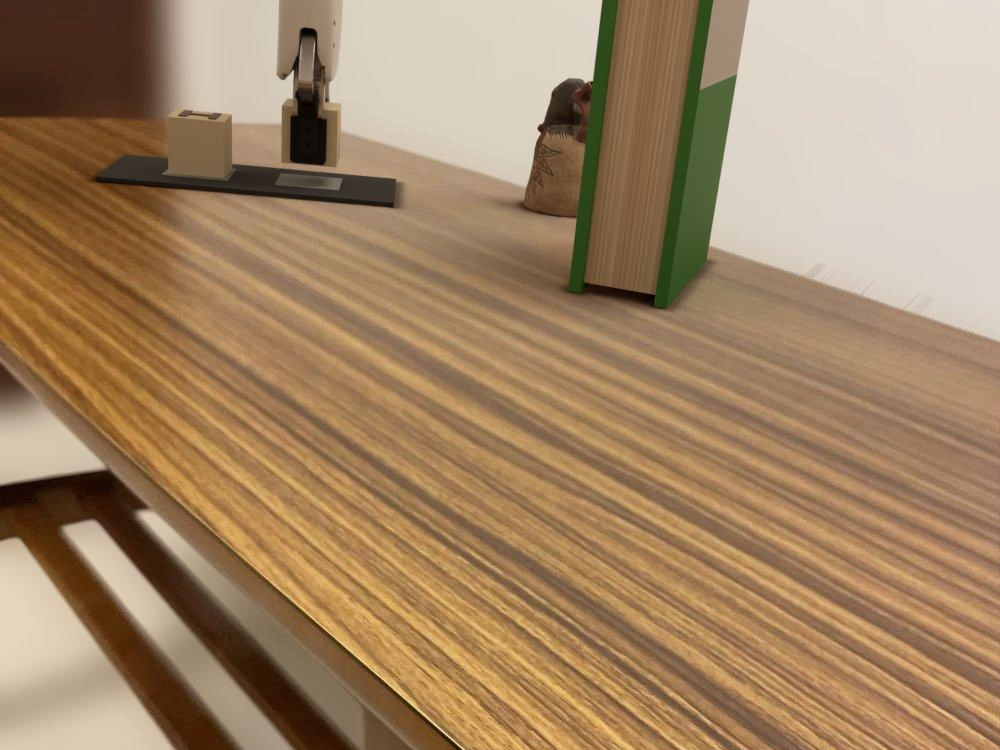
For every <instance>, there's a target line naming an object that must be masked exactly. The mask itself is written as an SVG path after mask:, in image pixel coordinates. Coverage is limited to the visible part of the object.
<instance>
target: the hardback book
mask: <svg viewBox="0 0 1000 750" xmlns="http://www.w3.org/2000/svg"><path fill="white" fill-rule="evenodd" d="M749 4H750V0H601V8H600V15H599V17H600V18H599V25H598V33H597V34H598V35H597V41H596V42H597V43H596V51H595V60H594V68H593V76H592V81H593V84H592V93H591V101H590V110H589V118H588V127H587V135H586V144H585V152H584V161H583V169H582V178H581V187H580V195H579V204H578V212H577V217H576V221H575V229H574V239H573V247H572V255H571V265H570V272H569V283H568V288H567V290H568V291H569V292H572V293H573V292H574V293H578V294H580V293H582V292H583V291H584V290H586V289H587V288H588V287H589V286H590V285H596V286H597V285H598V286H603V287H608V288H609V287H610V288H615V289H619V290H626V291H631V292H637V293H643V294H648V295H654V301H653V307H657V308H664V309H667V308H668V307H669V306H670V305H671V304H672V302H673V301H674V300H675V299H676V297H677V296H678V295H679V294H680V293H681V292H682V291H683V289H684V288H685V287H686V286H687V285H688V284H689V282H691V280H692V279H693V278H694V277H695V275H696V274H697V273H698V272H699V270H700V269H701V268H702V267H703V266H704V265H705V264H706V262H707V261H708V253H709V248H710V247H709V246H710V241H711V235H712V230H713V224H714V217H715V212H716V206H717V199H718V194H719V187H720V183H721V175H722V171H723V163H724V158H725V157H724V156H725V152H726V151H725V150H726V145H727V139H728V133H729V126H730V120H731V115H732V114H731V113H732V108H733V102H734V95H735V91H736V90H735V88H736V84H737V80H738V79H737V78H738V71H739V66H740V60H741V54H742V48H743V42H744V36H745V31H746V23H747V19H748V18H747V17H748V12H749V11H748V10H749Z"/></svg>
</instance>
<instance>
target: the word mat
mask: <svg viewBox="0 0 1000 750" xmlns="http://www.w3.org/2000/svg"><path fill="white" fill-rule="evenodd" d="M95 181H96V182H103V183H116V184H117V183H118V184H127V185H139V186H150V187H161V188H172V189H183V190H184V189H185V190H196V191H206V192H219V193H229V194H239V195H240V194H242V195H252V196H253V195H254V196H263V197H264V196H265V197H274V198H285V199H287V198H288V199H298V200H308V201H318V202H319V201H321V202H329V203H341V204H342V203H343V204H355V205H364V206H377V207H386V208H387V207H390V208H394V205H395V197H396V188H397V178H393V177H381V176H371V175H370V176H368V175H360V174H359V175H358V174H350V173H349V174H348V173H336V172H327V171H316V170H304V169H292V168H282V167H272V166H260V165H248V164H237V163H236V164H235V163H232V170H231V171H230V172H229V174H228V175H227V176H226V177H225V178H224V179H223V178H211V177H200V176H189V175H178V174H169V172H168V157H162V156H161V157H160V156H151V155H150V156H149V155H139V154H126V153H125V154H124V155H122V156H121V157H120V158H118V159H117V160H115V161H114V162H113V163H111V164H110V165H109V166H108V167H106V168H105V169H104V170H102V171H101V172H100V173H98V174H97V175H96V176H95Z"/></svg>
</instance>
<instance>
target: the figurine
mask: <svg viewBox="0 0 1000 750" xmlns="http://www.w3.org/2000/svg"><path fill="white" fill-rule="evenodd" d="M592 84H593V80H588V81H587V82H585V80H584V79H582V78H579V77H578V78H576V77H575V78H573V77H568V78H566V79H565V80H563V81H562V82H560V83H559V84H558V85H557V86H555V87H554V88H553V89H552V90H551V95H550V100H549V103H548V105H547V109H546V112H545V116H544V119H543V122H542V123H539V124H538V126H537V131H538V133H540V134H539V136H538V138H537V139H536V142H535V145H534V150H533V158H532V159H533V160H532V163H531V169H530V174H529V178H528V181H527V184H526V187H525V192H524V198H523V202H524V207H526V208H527V209H529V210H532V211H534V212H538V213H543V214H548V215H553V216H559V217H570V218H571V217H574V218H577V212H578V204H579V195H580V187H581V178H582V169H583V161H584V152H585V144H586V135H587V127H588V118H589V110H590V101H591V93H592Z"/></svg>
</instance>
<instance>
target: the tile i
mask: <svg viewBox="0 0 1000 750" xmlns="http://www.w3.org/2000/svg"><path fill="white" fill-rule="evenodd" d="M292 105H293V98H288V97H287V98H286V100H284V102H283V103H282V105H281V134H280V135H281V139H280V140H281V141H280V142H281V144H280V146H281V147H280V149H281V150H280V163H281V164H291V165H292V164H294V165H303V166H305V165H306V166H315V167H328V168H337V167H338V164H339V162H340V158H341V134H342V130H341V129H342V128H341V127H342V103H340V102H331V101H330V102H325V105H324V119H327V142H326V162H325V164H324V165H314V164H303V163H293V162H292V161H291V160H290V116H292Z"/></svg>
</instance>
